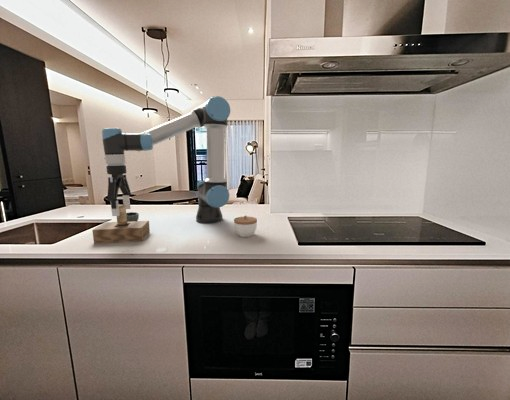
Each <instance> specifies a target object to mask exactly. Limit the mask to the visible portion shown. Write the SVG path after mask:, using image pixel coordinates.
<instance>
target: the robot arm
mask: <svg viewBox="0 0 510 400" xmlns="http://www.w3.org/2000/svg"><path fill="white" fill-rule="evenodd" d="M230 115H231V106H230V104H229V102H228V101H227V99H225V97H222V96H218V95H215V96H211V97H209V98H208V99H207V100H206V101H205V102H203V103H202V104H201V105H199V106H197V107H195V108H193V109H191V110H190V112H189V113H186V114H184V115H183V116H180V117H177V118H174V119H172V120H170V121H168V122H167V121H166V122H165V123H162V124H159V125H157V126H154V127H153V128H150V129H148V130H145V131H142V132H140V133H139V132H136V133H131V132H129V133H127V132H126V133H124V132H123V131H122V129H121V128H119V127H105V128H102V131H101V135H102V146H103V151H104V152H103V153H104V160H105V165H106V174H107V175H111V176H110V177H108V178H107V179H108V180H107V182H108V183H107V184H108V185H107V196H106V197H107V199H106V200H107V202H110V210H111V216H112V217H117V216H120V213H119V206H118V205H119V200H118V195H119V189H120V191H121V193H122V203H123V204H122V205H125V206H126V210H130V209H131V202H130V196H131V195H132V192H131V190H130V186H129V183H128V180H127V166H126V165H125V164H127V162H126V156H125V151H127V152H128V151H129V152H130V151H131V152H133V151H134V152H136V151H137V152H141V151H142V152H143V151H144V152H145V151H152V150H153V148H154V146H155V145H158V144H160V143H162V142H164V141H167V140H168V139H171V138H173V137H176V136H178V135H181V134H184V133H185V132H188V131H190V130H193V129H195V128H198V129H200V128H202V127H204V128H205V129H206V177H205V179H204V180H199V181H197V201H198V208H197V212H196V216H195V221H196V222H198V223H201V224H213V223H218V222H221V221H223V219H224V217H223V213H222V210H221V208H222V207H224V206H225V205H226V204H228V202H229V200H230V191H229V190H228V186H227V185H228V183H227V182H228V180H227V179H226V178H225V130H226V129H227V127H228V119H229V116H230Z"/></svg>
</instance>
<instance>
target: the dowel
mask: <svg viewBox="0 0 510 400" xmlns="http://www.w3.org/2000/svg"><path fill="white" fill-rule="evenodd" d="M118 206H119V213H120V216H116V222H117V226H118V227H125V226H127V216H126V213H127V209H126V206H125V205H124V204H121V205H120V204H118Z"/></svg>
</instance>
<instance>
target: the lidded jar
mask: <svg viewBox="0 0 510 400" xmlns="http://www.w3.org/2000/svg"><path fill="white" fill-rule="evenodd" d="M233 223H234V225H233V226H234V230H235V232H236V233H237V235H238V236H240V238H250V237H252V236H253V235H254V234H255V232H257V231H256V230H257V225H258V224H257V223H258V218H257V217H254V216H248V215H244V216H239V217H235V218H234V219H233Z"/></svg>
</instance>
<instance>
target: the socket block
mask: <svg viewBox="0 0 510 400" xmlns="http://www.w3.org/2000/svg"><path fill="white" fill-rule="evenodd" d="M150 231H151V230H150V221H149V220H138V221H129V222H127V226H125V227H118V226H117V221H108V222H106V221H105V222H103V223H102V224H99V225H98V226H96V227H95V228H93V229H92V231H91V232H92V238H93V244H105V243H125V242H126V243H127V242H143V241H144V240H145V239H146V238H147V237H148V236H149V234H150V233H151V232H150Z"/></svg>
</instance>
